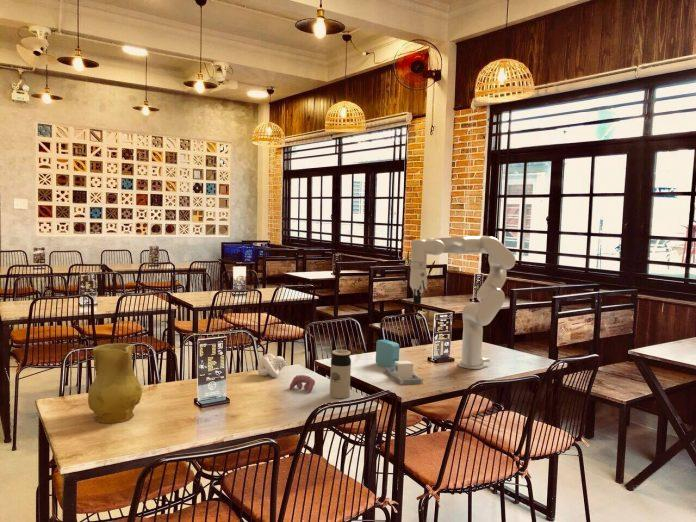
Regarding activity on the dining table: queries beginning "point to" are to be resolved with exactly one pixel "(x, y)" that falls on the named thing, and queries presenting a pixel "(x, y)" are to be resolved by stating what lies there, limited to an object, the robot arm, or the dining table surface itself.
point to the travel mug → (340, 374)
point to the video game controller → (303, 379)
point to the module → (403, 369)
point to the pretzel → (270, 365)
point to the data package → (387, 353)
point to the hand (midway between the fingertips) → (417, 303)
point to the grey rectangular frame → (416, 379)
